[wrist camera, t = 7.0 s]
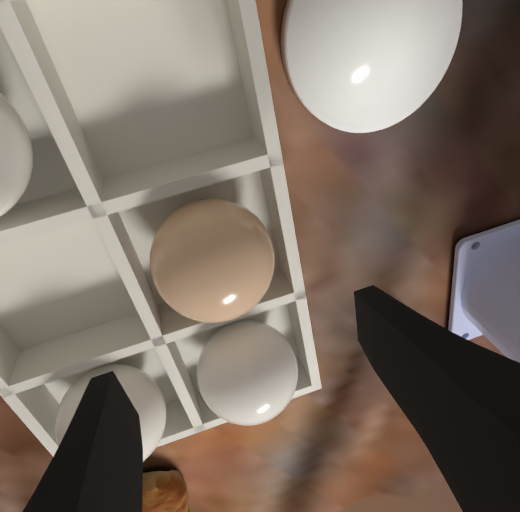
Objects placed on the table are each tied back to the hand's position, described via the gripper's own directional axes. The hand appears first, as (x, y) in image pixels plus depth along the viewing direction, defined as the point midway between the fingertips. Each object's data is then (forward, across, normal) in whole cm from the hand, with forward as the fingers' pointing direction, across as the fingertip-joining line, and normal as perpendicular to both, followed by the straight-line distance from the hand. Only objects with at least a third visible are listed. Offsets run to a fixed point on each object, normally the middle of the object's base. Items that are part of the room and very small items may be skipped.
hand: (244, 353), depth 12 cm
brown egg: (+8, 0, 0) cm, 8 cm away
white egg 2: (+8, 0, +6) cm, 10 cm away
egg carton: (+8, +3, 0) cm, 9 cm away
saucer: (+8, -8, -6) cm, 13 cm away
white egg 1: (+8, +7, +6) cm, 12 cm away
